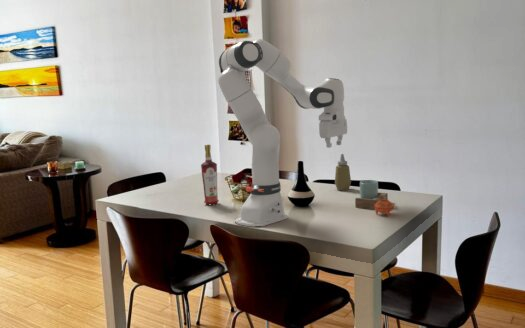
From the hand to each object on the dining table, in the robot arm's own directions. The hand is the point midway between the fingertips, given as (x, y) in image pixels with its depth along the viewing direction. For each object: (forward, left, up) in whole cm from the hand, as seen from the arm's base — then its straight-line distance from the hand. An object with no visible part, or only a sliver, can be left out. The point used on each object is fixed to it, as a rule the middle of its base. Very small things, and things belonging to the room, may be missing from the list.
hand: (334, 146), depth 221 cm
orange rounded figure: (-11, -28, -26) cm, 39 cm away
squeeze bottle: (+23, +7, -26) cm, 35 cm away
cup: (+2, -16, -26) cm, 30 cm away
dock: (+1, -18, -25) cm, 31 cm away
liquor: (-28, +50, -26) cm, 63 cm away
